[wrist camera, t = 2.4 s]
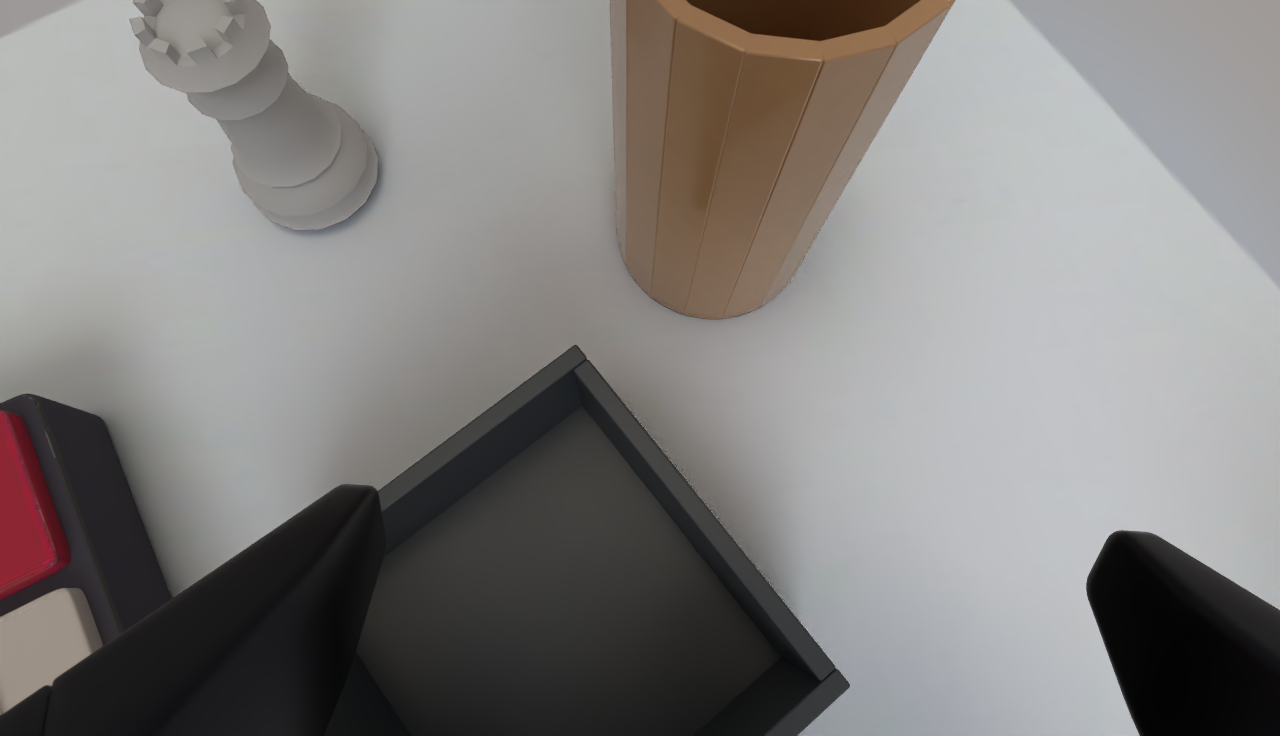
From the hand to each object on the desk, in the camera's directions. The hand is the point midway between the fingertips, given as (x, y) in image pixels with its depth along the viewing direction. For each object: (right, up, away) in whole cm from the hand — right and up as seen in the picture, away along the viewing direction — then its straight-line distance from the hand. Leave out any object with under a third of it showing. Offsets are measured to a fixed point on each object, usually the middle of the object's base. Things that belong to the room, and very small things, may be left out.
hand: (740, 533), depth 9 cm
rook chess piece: (-12, +9, +16) cm, 22 cm away
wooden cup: (+1, +7, +16) cm, 17 cm away
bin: (-4, -6, +13) cm, 14 cm away
